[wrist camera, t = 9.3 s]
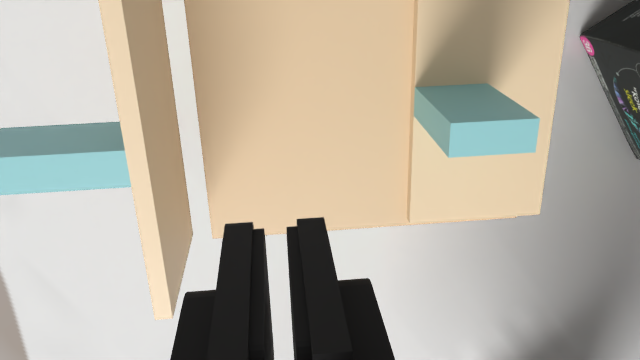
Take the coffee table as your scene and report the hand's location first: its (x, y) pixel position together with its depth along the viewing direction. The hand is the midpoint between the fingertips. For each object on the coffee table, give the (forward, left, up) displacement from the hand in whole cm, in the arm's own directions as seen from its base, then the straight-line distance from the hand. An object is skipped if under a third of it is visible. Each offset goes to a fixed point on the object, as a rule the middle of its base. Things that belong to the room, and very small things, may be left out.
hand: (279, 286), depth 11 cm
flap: (0, +4, -10) cm, 11 cm away
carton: (0, -4, -25) cm, 25 cm away
